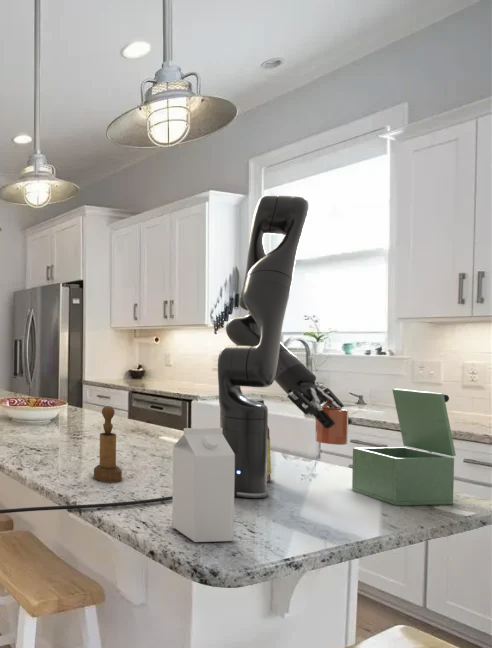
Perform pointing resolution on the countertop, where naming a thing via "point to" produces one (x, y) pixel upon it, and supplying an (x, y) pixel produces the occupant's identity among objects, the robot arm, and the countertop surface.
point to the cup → (333, 427)
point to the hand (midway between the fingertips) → (339, 425)
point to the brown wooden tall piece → (108, 451)
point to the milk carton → (203, 485)
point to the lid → (424, 420)
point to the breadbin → (403, 475)
